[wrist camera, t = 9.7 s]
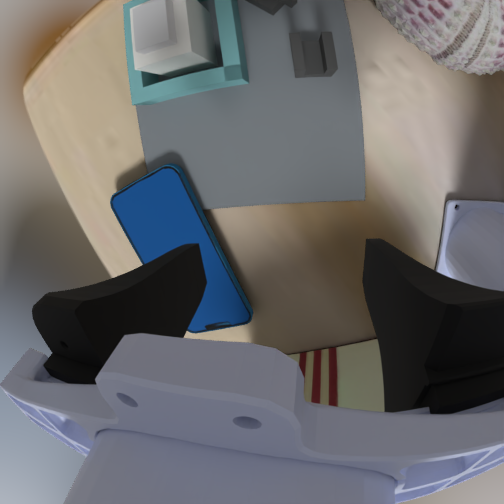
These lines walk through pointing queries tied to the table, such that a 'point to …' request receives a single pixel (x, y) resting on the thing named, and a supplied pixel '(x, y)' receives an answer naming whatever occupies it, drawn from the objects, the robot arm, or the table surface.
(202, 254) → the smartphone
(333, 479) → the robot arm
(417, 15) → the sea urchin shell
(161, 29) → the connector plug
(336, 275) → the table surface
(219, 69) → the board
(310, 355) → the gift box
